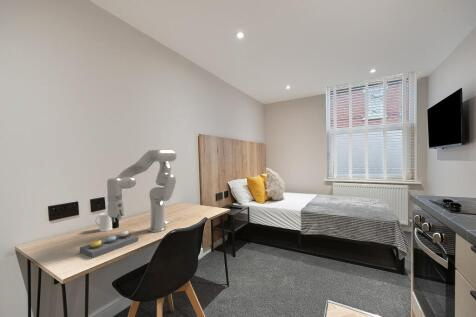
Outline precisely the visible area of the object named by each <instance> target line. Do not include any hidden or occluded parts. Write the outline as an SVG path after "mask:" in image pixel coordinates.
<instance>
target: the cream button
mask: <svg viewBox="0 0 476 317" xmlns="http://www.w3.org/2000/svg"><path fill="white" fill-rule="evenodd" d="M128 234H130V233H129V229H128V230H127V229H126V230H125V229H124V230H121V231H119V235H120V236H126V235H128Z"/></svg>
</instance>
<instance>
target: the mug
mask: <svg viewBox="0 0 476 317" xmlns="http://www.w3.org/2000/svg"><path fill="white" fill-rule="evenodd" d="M98 218H99V223H98ZM95 224H96V225H97V226H98V227H99V228H98V231H99V232H101V233H102V232H108V231H112V230H114V229H113V228H112V221H111V218H110V216H108V211H106V212H102V213H99V215H97V216H96V218H95Z"/></svg>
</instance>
